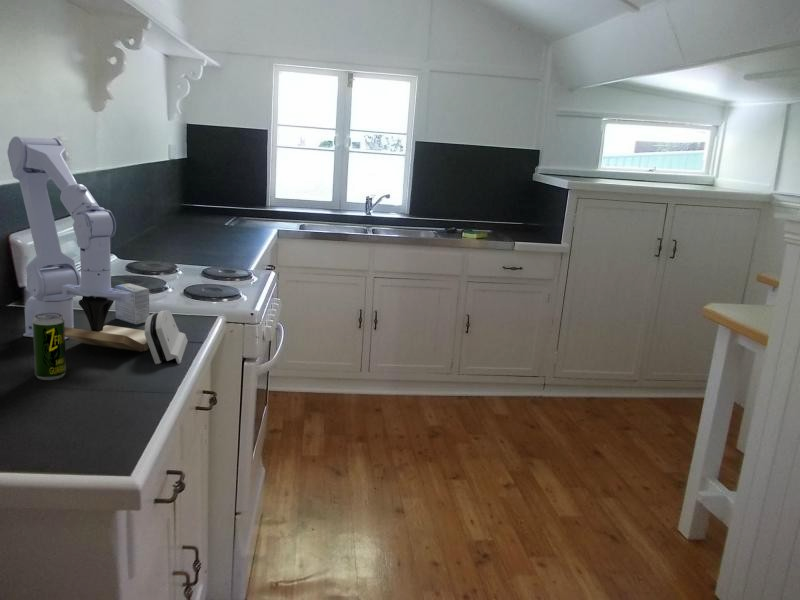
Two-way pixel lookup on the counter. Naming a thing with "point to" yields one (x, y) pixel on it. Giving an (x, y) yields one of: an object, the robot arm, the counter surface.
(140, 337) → the floor board
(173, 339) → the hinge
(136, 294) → the grey wood grain block
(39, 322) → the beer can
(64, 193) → the robot arm
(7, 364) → the counter surface
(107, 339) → the plank
